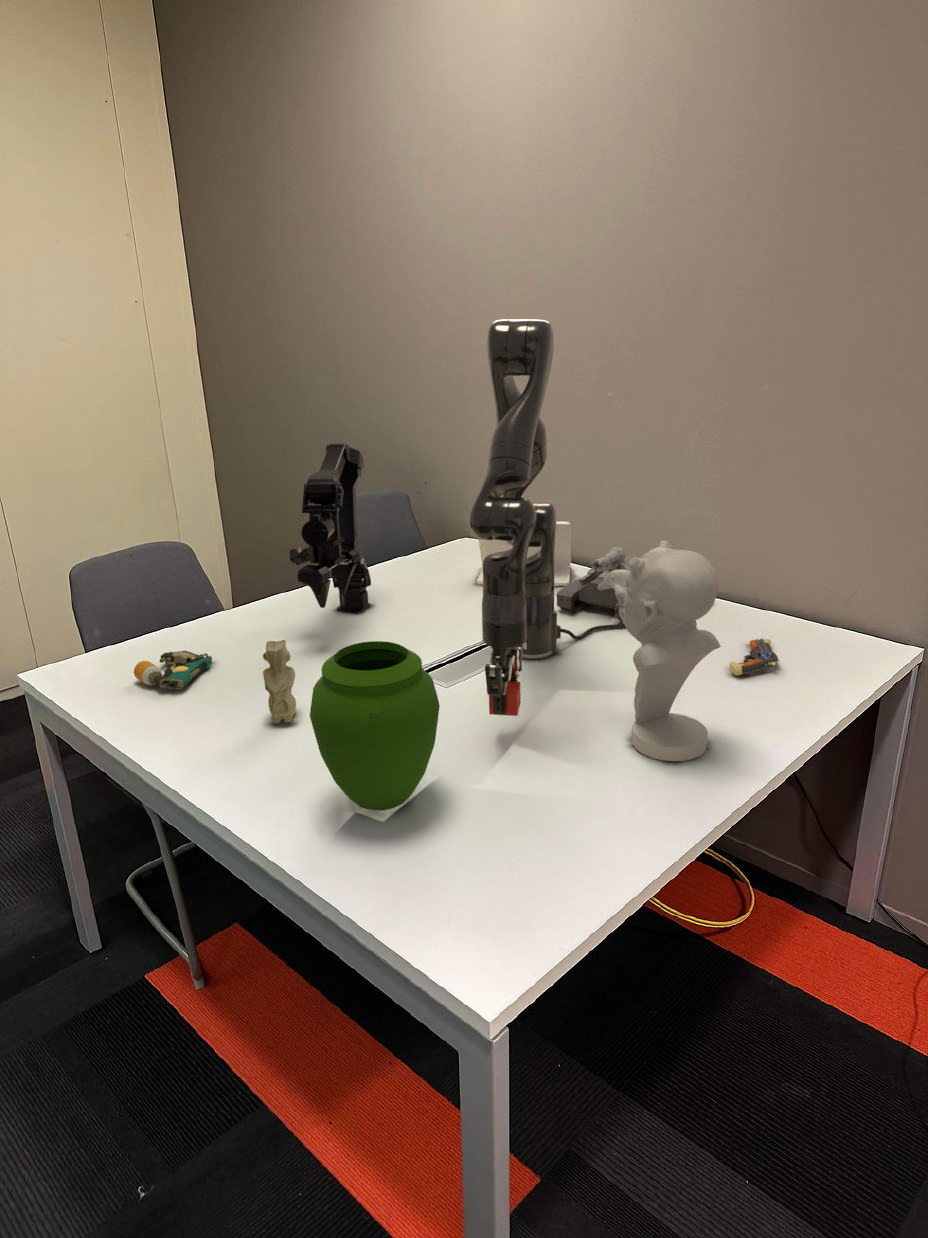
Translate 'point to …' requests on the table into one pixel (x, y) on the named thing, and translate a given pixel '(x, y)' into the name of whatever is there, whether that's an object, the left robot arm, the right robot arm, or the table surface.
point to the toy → (594, 585)
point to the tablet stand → (560, 551)
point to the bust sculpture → (666, 643)
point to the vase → (375, 722)
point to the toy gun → (756, 658)
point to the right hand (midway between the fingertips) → (505, 705)
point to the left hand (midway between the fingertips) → (332, 600)
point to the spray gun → (172, 669)
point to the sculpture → (279, 681)
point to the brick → (509, 699)
